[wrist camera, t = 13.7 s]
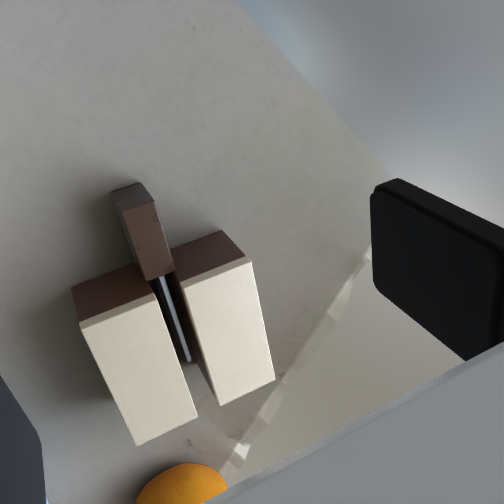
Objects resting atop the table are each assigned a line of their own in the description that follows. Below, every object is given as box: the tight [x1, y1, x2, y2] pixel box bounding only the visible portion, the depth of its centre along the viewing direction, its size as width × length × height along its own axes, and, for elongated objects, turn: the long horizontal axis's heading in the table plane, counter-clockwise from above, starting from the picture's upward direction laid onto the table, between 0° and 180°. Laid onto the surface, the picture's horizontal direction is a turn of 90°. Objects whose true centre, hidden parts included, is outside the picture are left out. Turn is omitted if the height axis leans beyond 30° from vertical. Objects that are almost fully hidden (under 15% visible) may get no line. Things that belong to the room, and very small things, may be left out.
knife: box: [111, 183, 192, 362], centre depth 39 cm, size 15×2×4 cm, turn 11°
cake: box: [71, 230, 275, 446], centre depth 41 cm, size 13×13×6 cm
